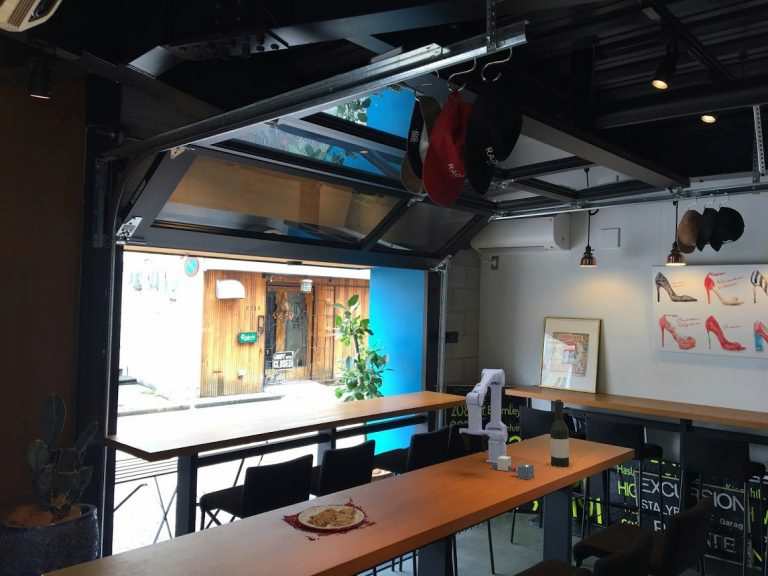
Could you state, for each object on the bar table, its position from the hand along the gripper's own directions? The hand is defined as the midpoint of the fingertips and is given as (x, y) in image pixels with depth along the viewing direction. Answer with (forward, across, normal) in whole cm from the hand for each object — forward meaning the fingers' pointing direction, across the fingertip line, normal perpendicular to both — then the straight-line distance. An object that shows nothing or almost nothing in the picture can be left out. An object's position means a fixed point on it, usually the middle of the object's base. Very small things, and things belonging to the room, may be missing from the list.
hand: (475, 451), depth 263 cm
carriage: (+10, +8, +13) cm, 18 cm away
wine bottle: (+10, +27, +34) cm, 45 cm away
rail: (+10, +11, +13) cm, 20 cm away
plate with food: (+10, -17, -81) cm, 83 cm away
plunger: (+9, +17, +6) cm, 20 cm away
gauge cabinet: (+10, +20, +6) cm, 24 cm away
